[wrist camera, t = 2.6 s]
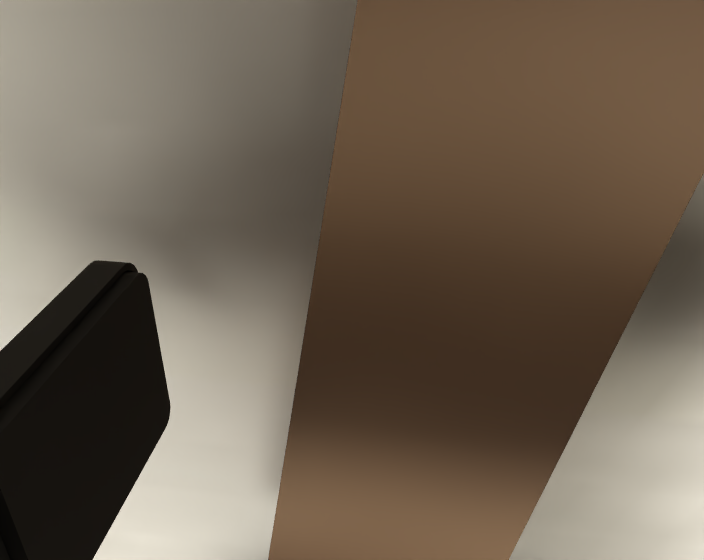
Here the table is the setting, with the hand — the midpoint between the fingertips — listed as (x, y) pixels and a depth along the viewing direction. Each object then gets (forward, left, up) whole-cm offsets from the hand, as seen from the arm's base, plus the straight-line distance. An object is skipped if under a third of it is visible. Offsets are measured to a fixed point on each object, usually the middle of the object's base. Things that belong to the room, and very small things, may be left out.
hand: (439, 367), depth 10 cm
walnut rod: (-1, 0, -3) cm, 3 cm away
